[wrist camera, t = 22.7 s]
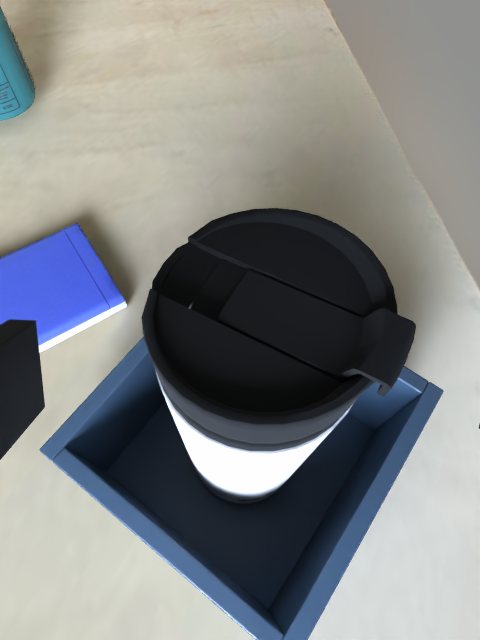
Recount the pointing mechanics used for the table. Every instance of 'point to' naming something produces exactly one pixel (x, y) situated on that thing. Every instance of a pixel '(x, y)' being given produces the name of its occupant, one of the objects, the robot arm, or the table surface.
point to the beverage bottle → (13, 75)
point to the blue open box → (242, 519)
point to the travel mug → (269, 342)
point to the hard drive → (57, 286)
